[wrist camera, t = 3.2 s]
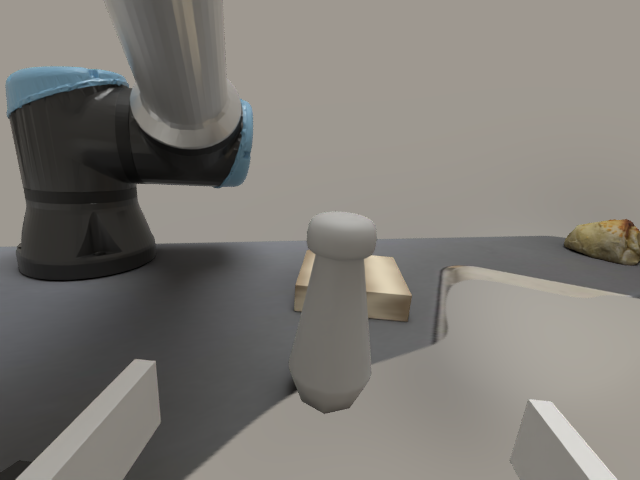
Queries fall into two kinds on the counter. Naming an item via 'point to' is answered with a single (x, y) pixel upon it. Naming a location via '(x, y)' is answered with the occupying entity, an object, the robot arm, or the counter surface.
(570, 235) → the pastry
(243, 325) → the counter surface
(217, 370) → the counter surface
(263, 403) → the counter surface
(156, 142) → the robot arm
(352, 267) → the salt shaker
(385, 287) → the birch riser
